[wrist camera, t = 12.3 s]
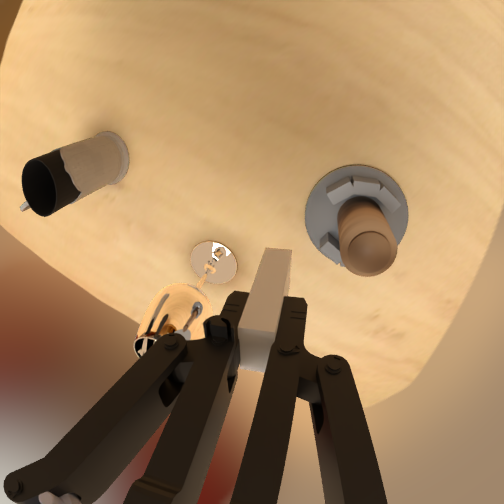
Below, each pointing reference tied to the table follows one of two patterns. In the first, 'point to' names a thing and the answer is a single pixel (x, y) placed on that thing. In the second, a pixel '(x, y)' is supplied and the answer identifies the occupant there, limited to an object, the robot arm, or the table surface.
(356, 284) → the table surface
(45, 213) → the glass holder
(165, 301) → the wineglass
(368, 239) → the stopper
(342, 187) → the grey round base
